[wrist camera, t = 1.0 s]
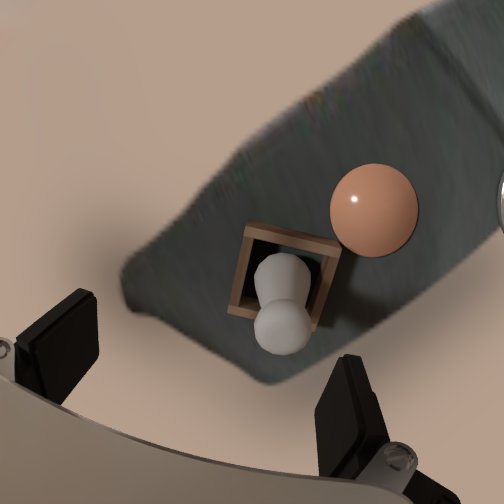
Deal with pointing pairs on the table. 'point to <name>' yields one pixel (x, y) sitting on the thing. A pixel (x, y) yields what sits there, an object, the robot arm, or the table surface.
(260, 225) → the square wooden frame
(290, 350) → the salt shaker
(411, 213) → the orange round disc
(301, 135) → the table surface
